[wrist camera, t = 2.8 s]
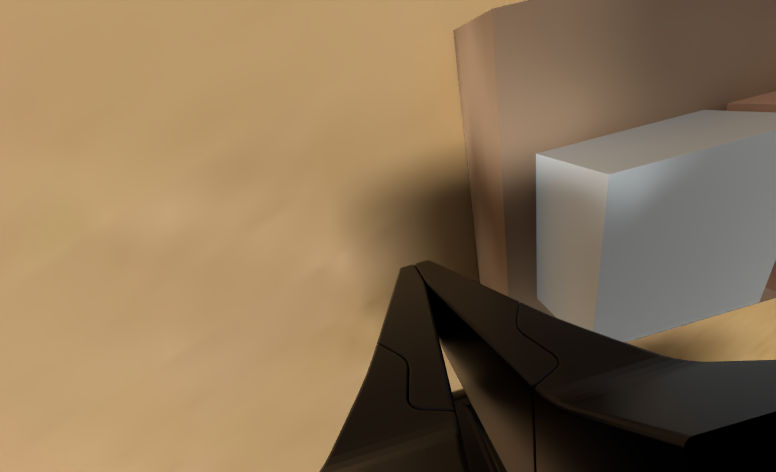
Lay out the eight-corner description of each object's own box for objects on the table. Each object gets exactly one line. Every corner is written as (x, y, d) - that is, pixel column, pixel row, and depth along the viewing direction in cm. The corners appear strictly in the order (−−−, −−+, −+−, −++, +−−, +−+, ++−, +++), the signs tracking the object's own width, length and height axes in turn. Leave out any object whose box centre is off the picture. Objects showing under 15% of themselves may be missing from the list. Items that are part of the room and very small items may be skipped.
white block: (670, 259, 11) (758, 302, 9) (536, 298, 11) (591, 352, 8) (703, 110, 9) (832, 114, 6) (536, 153, 8) (609, 174, 6)
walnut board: (758, 252, 15) (833, 280, 13) (485, 331, 14) (513, 375, 12) (873, -70, 10) (1034, -119, 8) (453, 30, 9) (492, 8, 7)
